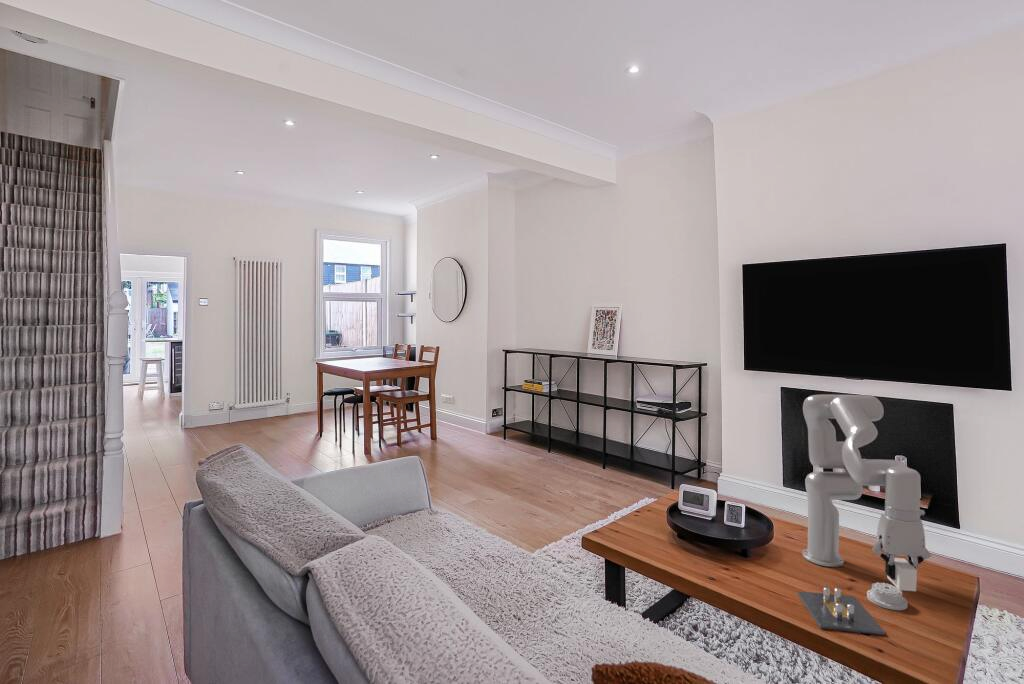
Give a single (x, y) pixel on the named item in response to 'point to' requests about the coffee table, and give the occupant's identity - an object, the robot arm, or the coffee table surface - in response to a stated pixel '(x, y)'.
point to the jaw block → (904, 575)
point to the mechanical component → (887, 596)
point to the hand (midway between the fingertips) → (900, 577)
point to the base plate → (836, 623)
